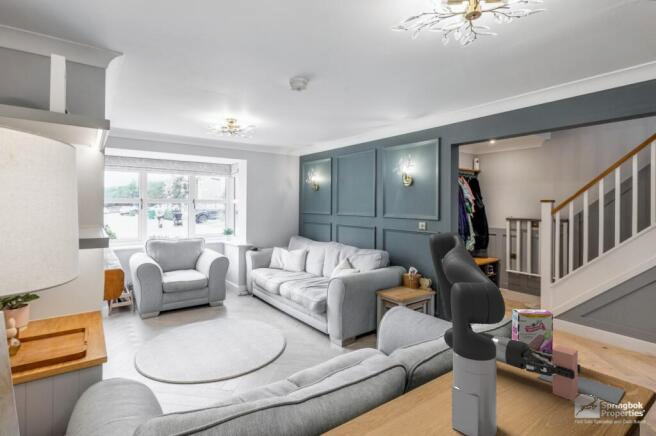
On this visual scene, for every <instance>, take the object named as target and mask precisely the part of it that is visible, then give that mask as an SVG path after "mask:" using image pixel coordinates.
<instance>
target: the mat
mask: <svg viewBox="0 0 656 436" xmlns="http://www.w3.org/2000/svg"><path fill="white" fill-rule="evenodd" d="M538 378H539V380H541V379H542V380H541V381H543V382H544V381H545V382H547V383H551V384H553V374H552V376H547V375H542V374H539V376H537V379H538ZM625 392H626V390H625V389H622V388H619V387H616V386H612V385H608V384H605V383H603V382H598V381H596V380H592V379H590V378H586V377H583V376H579V375H578V393H580V394H583V395H586V394H588V395H587V396H589V395H592V396H595V397H597V398H596V399H598V398H599V399H598V400H601V401H605V402H607V403H610V404H612V405H616V406H617V405H618V403H619V402H620V401H621V398H622V397H623V396H624V394H625ZM592 396H591V397H592ZM595 397H594V398H595Z"/></svg>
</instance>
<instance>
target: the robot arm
mask: <svg viewBox="0 0 656 436" xmlns="http://www.w3.org/2000/svg"><path fill="white" fill-rule="evenodd" d="M428 245H429V251H430V255H431V259H432V260H431V261H432V263H433V267H434V271H435V275H436V279H437V282H438V285H439V289H440V293H441V294H440V295H441V299H442V300H441V301H442V307H443V312H444V313H443V314H444V317H445V318H446V319H448V320H450V321H451V322H452V323H451V325H452V326H451V327H450V328H448V329H447V330H445V332H444V335H443V340H444V342H445V344H446V345H447V346H448V347H449V348H450V349H452V386H451V428H452V429H454V430H456V431H458V432H460V433H461V434H463V435H465V436H496V434H497V432H498V431H497V430H498V427H497V426H498V424H497V423H498V420H497V419H498V417H497V411H498V408H497V407H498V406H497V405H498V404H497V401H498V400H497V397H498V396H497V362H499V363H502V364H505V365H508V366H511V367H514V368H517V369H520V370H525V371H527V372H530V373H534V374H538V375H541V374H542V375H547V376H552V374H553V375H557V374H558V375H561V376H564V377H567V378H570V379H574V378H575V371H574V370H571V369H568V368H565V367H561V366H557V365H555V364H553V352H550V351H548V350H545V349H542V352H540V351H532V350H531V349H530V347H529V345H528V344H527V343H523V342H520V341H516V340H512V338H508V337H503V336H498V335H493V334H489V333H486V332H476V331H474V329H473V327H472V324H473V325H495V324H500V322H502V321H503V319H504V318H505V315H506V304H505V303H506V302H505V299H504V297H503V293H502V292H501V290H500V289H499V287H498V286H497V284H496V283H495V282H493V281H492V280H491V278H489V277H488V276H487V275H486V274H485V273H484V272H483V270H482V269H481V268H480V266H479V264H478V263H477V261H476V260H475V259H474V257H473V255H471V253H470V252H469V251H468V250H467V247H466V245H465V242H464V240H463V238H462V236H461V235H460V234H459V233H458V232H457V231H448V232H447V231H446V232H440V233H433V234H430V236H429V240H428ZM549 361H551V362H549ZM581 368H582V367H581V365H580V364H579V363H578V374H580V373H581V371H582V370H581Z"/></svg>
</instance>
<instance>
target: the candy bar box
mask: <svg viewBox="0 0 656 436" xmlns="http://www.w3.org/2000/svg"><path fill="white" fill-rule="evenodd" d="M511 339H512V340H516V341H520V342H523V343H527V344H528V345H529V347H530V349H531V350H532V351H540V352H542V349H545V350H548V351H550V352H553V349H554V348H553V347H554V345H553V343H554V342H553V341H554V340H553V339H554V314H553V312H550V311H548V310H546V309H530V308H529V309H528V308H524V309H523V308H512V309H511ZM549 362H550V363H551V361H549Z"/></svg>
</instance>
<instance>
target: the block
mask: <svg viewBox="0 0 656 436" xmlns="http://www.w3.org/2000/svg"><path fill="white" fill-rule="evenodd" d="M578 352H579V351H578V349H577V350H576V349H573V348H569V347H565V346H561V345H557V346H556V347H554V348H553V364H555V365H557V366H561V367H565V368H568V369H571V370H574V371H575V378H574V379H570V378H567V377H564V376H561V375H558V374H557V375H553V383H552V394H553V395H556V396H558V397H561V398H564V399H567V400H569V401H574V400H575V399H576V398H577V397H578V396H579V392H578V376H579V375H578V374H579V373H578V364H579V360H578V358H579V357H578V355H579V353H578Z"/></svg>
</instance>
